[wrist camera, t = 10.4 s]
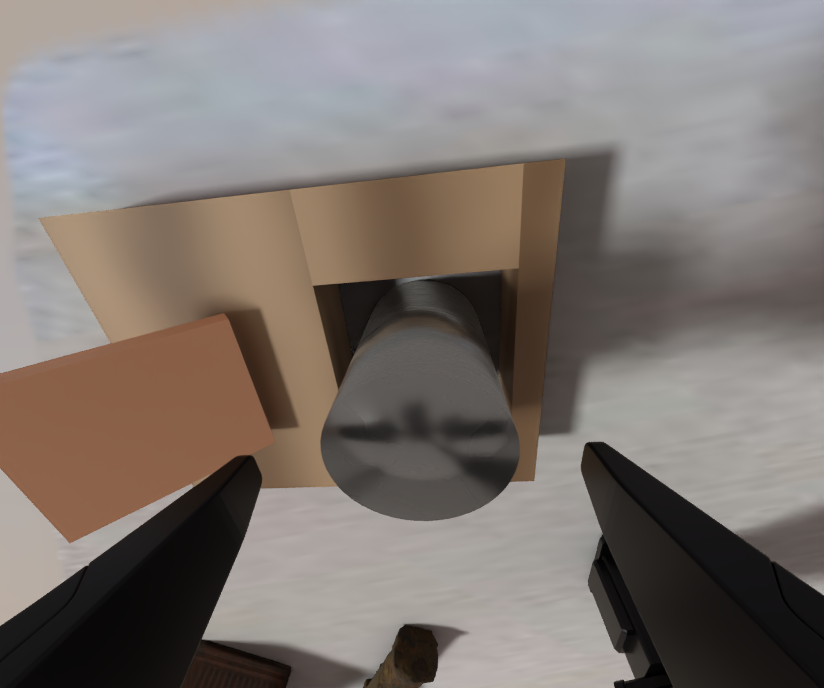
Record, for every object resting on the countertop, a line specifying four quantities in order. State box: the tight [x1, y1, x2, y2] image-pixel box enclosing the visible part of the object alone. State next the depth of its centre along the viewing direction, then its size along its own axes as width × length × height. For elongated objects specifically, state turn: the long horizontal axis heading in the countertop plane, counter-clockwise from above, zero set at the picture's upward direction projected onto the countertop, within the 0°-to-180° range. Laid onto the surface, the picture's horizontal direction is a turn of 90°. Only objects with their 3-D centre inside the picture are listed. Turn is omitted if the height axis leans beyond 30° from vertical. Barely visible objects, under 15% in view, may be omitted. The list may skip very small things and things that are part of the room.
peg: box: [320, 280, 520, 521], centre depth 13 cm, size 6×6×8 cm
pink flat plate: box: [0, 313, 275, 543], centre depth 12 cm, size 7×6×1 cm
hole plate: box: [39, 158, 566, 488], centre depth 15 cm, size 18×14×3 cm
